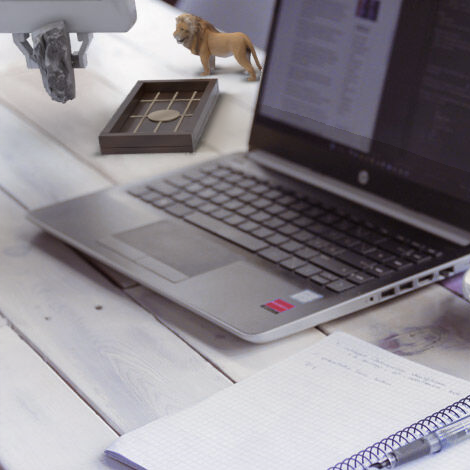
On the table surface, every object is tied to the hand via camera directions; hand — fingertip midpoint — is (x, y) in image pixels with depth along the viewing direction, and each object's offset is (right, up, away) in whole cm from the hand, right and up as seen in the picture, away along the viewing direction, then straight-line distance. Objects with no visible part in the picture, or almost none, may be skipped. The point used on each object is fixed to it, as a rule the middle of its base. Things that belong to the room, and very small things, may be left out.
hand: (58, 67), depth 117 cm
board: (+12, -6, +5) cm, 15 cm away
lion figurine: (+17, +2, +22) cm, 28 cm away
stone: (0, -3, +2) cm, 4 cm away
